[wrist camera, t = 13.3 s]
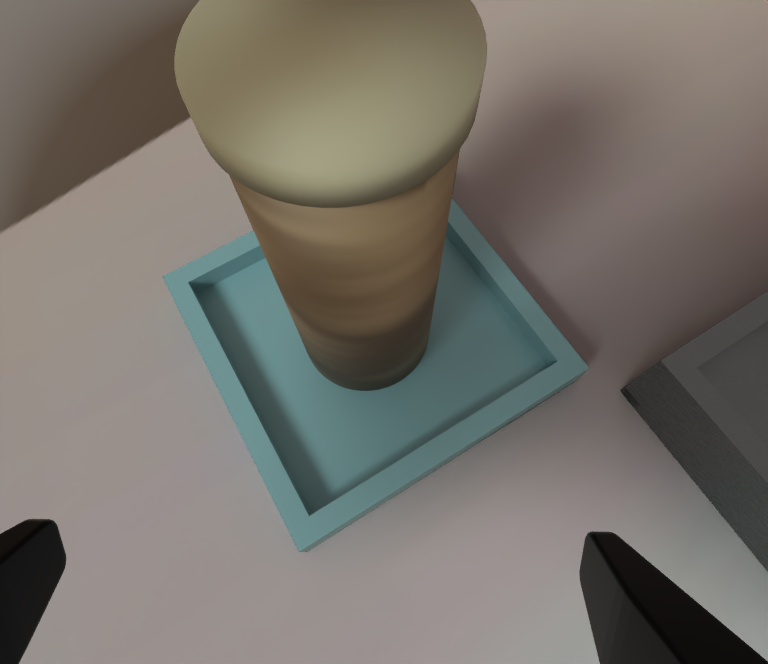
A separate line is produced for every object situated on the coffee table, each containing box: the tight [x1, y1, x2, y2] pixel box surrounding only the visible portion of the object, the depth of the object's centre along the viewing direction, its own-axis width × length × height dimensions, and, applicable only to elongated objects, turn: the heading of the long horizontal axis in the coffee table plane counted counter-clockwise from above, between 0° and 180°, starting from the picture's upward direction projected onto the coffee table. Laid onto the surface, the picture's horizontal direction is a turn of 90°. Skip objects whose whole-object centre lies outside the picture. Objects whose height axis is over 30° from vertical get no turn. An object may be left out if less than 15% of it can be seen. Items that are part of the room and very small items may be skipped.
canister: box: [175, 0, 487, 391], centre depth 15 cm, size 5×5×13 cm
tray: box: [163, 198, 589, 552], centre depth 21 cm, size 12×12×2 cm
